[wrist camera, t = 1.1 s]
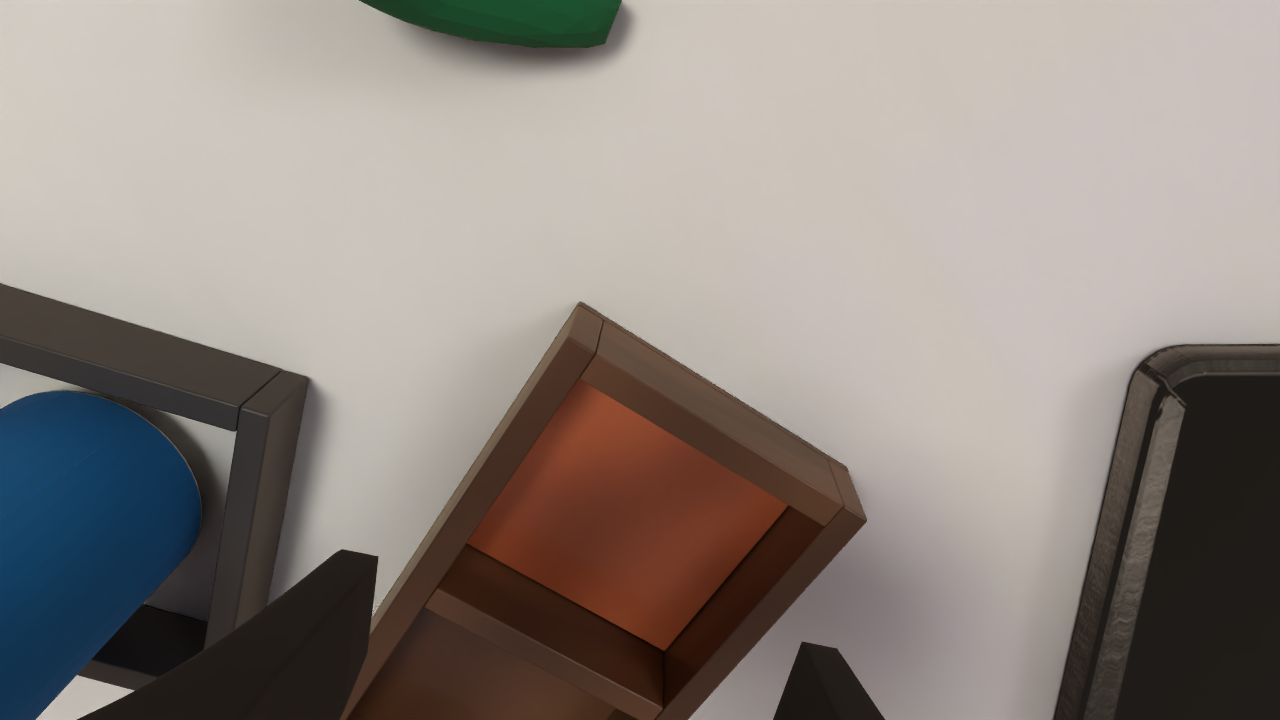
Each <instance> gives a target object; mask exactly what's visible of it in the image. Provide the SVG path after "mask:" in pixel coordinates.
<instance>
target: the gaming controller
mask: <svg viewBox="0 0 1280 720" xmlns="http://www.w3.org/2000/svg"><path fill="white" fill-rule="evenodd" d="M359 1H361V2H363V3H365V4H367V5H369V6H371V7H373V8H375V9H377V10H379V11H382V12H384V13H386V14H389V15H391V16H393V17H395V18H398V19H400V20H402V21H405V22H408V23H411V24H414V25H417V26H420V27H423V28H426V29H429V30H432V31H436V32H441V33H445V34H449V35H453V36H458V37H462V38H466V39H471V40H475V41H483V42H491V43H499V44H508V45H516V46H525V47H534V48H588V47H593V46H597V45H602V44H605V42H606V39H607V37H608V34H609V32H610V29H611V27H612V24H613V22H614V19H615V16H616V14H617V11H618V9H619V7H620V4H621V2H622V0H359Z"/></svg>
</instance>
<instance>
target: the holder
mask: <svg viewBox="0 0 1280 720" xmlns="http://www.w3.org/2000/svg"><path fill="white" fill-rule="evenodd" d="M0 363H3V364H6V365H10V366H13V367H17V368H20V369H23V370H27V371H30V372H33V373H37V374H40V375H44V376H47V377H50V378H54V379H57V380H61V381H64V382H67V383H71V384H74V385H78V386H81V387H84V388H88V389H91V390H94V391H98V392H101V393H105V394H108V395H111V396H115V397H118V398H122V399H125V400H128V401H132V402H135V403H139V404H142V405H145V406H149V407H152V408H155V409H159V410H162V411H166V412H169V413H172V414H176V415H179V416H183V417H186V418H189V419H193V420H196V421H200V422H203V423H206V424H210V425H213V426H216V427H220V428H223V429H227V430H230V431H236V430H237V433H236V439H235V446H234V453H233V459H232V466H231V472H230V479H229V485H228V492H227V499H226V505H225V512H224V518H223V525H222V531H221V538H220V545H219V551H218V558H217V564H216V571H215V577H214V584H213V591H212V597H211V604H210V610H209V617H208V623H205V622H201V621H198V620H194V619H190V618H187V617H183V616H180V615H176V614H172V613H169V612H165V611H161V610H158V609H154V608H150V607H147V606H143V605H141V606H140V607H139V608H138V609H137V610H136V611H135V612H134V613H133V614H132V616H131V617H130V618H129V619H128V620H127V621H126V622H125V623H124V624H123V625H122V626H121V627H120V629H119V630H118V631H117V632H116V633H115V634H114V635H113V636H112V637H111V638H110V639H109V640H108V642H107V643H106V644H105V645H104V646H103V647H102V648H101V649H100V650H99V651H98V652H97V653H96V655H95V656H94V657H93V658H92V659H91V660H90V661H89V662H88V663H87V664H86V665H85V666H84V668H83V669H82V670H81V671H80V672H79V673H78V674H77V675H79V676H82V677H86V678H90V679H94V680H97V681H101V682H105V683H109V684H112V685H116V686H120V687H124V688H127V689H131V690H135V691H136V690H137V689H139V688H141V687H143V686H145V685H146V684H148V683H150V682H152V681H154V680H155V679H157V678H159V677H161V676H162V675H164V674H166V673H168V672H169V671H171V670H173V669H174V668H176V667H178V666H179V665H181V664H183V663H184V662H186V661H187V660H189V659H191V658H192V657H194V656H195V655H197V654H198V653H200V652H201V651H203V650H205V649H206V648H208V647H209V646H211V645H212V644H214V643H215V642H217V641H218V640H220V639H221V638H223V637H224V636H226V635H227V634H229V633H230V632H232V631H233V630H235V629H236V628H238V627H239V626H241V625H242V624H243V623H245V622H246V621H248V620H249V619H250V618H252V617H253V616H254V615H256V614H257V613H258V612H260V611H261V610H263V609H264V608H265V607H267V602H268V596H269V591H270V586H271V580H272V575H273V569H274V564H275V559H276V553H277V548H278V542H279V537H280V532H281V526H282V521H283V516H284V510H285V505H286V499H287V494H288V489H289V483H290V478H291V472H292V467H293V462H294V456H295V451H296V445H297V440H298V435H299V429H300V424H301V418H302V413H303V408H304V402H305V397H306V391H307V386H308V378H307V377H303V376H300V375H297V374H294V373H290V372H287V371H281V369H279V368H276V367H272V366H269V365H266V364H262V363H259V362H256V361H252V360H249V359H246V358H243V357H239V356H236V355H233V354H229V353H226V352H223V351H219V350H216V349H213V348H210V347H206V346H203V345H200V344H196V343H193V342H190V341H186V340H183V339H180V338H177V337H173V336H170V335H167V334H163V333H160V332H157V331H153V330H150V329H147V328H144V327H140V326H137V325H134V324H130V323H127V322H124V321H120V320H117V319H114V318H111V317H107V316H104V315H101V314H97V313H94V312H91V311H87V310H84V309H81V308H78V307H74V306H71V305H68V304H64V303H61V302H58V301H54V300H51V299H48V298H45V297H41V296H38V295H35V294H31V293H28V292H25V291H21V290H18V289H15V288H12V287H8V286H5V285H2V284H0Z"/></svg>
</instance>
